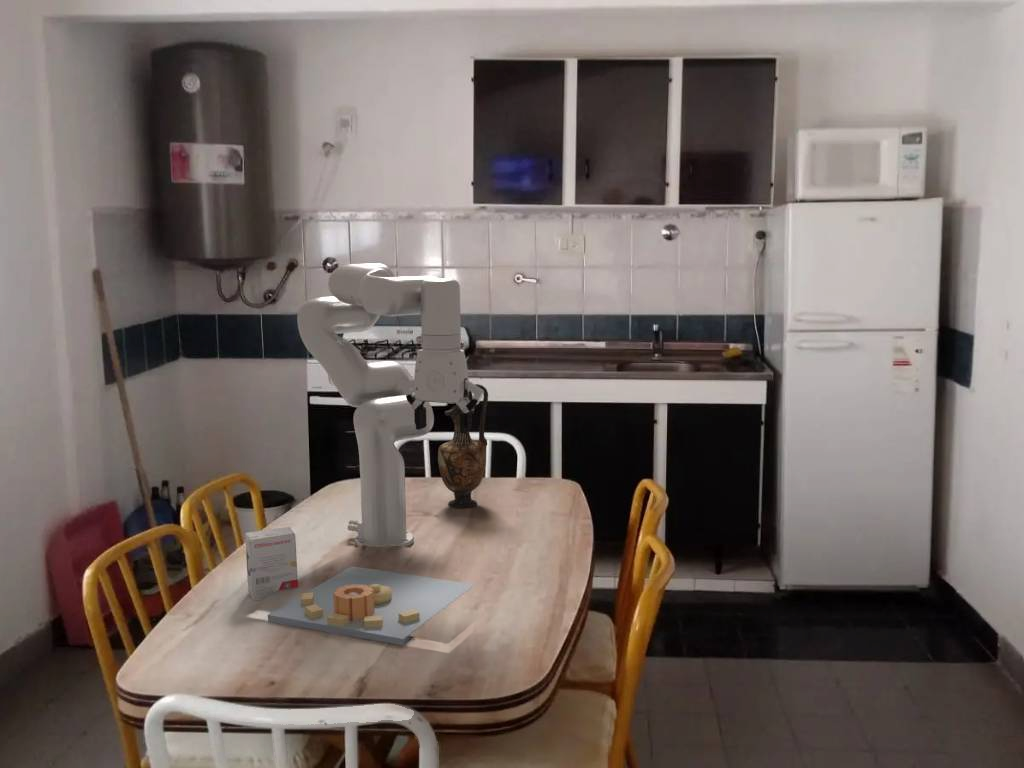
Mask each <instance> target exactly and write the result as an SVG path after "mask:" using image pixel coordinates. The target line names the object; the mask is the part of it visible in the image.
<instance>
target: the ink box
mask: <svg viewBox="0 0 1024 768" xmlns="http://www.w3.org/2000/svg"><path fill="white" fill-rule="evenodd" d="M244 535H245V555H246V557H245V558H246V576H247V592H248V595H249V596H250V597H251V599H252V600H253V601H259V600H264V599H265V598H268V597H269V596H271V595H273V594H275V593H277V592H278V591H284V590H289V589H295V588H299V580H298V579H299V578H298V577H299V576H298V560H297V559H298V558H297V542H296V539H297V538H296V534H295V532H294V531H293V530H292V529H291V527H290V526H286V527H280V528H273V529H264V530H263V529H262V530H258V531H257V530H256V531H250V532H245V534H244Z"/></svg>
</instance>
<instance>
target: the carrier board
mask: <svg viewBox="0 0 1024 768" xmlns="http://www.w3.org/2000/svg"><path fill="white" fill-rule="evenodd" d="M354 584H355V585H356V586H357V585H358V584H360V585H367V586H369V587H371V588H372V589H373V590H374V614H373V615H371V616H365V618H364V619H362V620H356V621H353V620H350V621H349V616H348V615H342V614H336V613H334V591H335V590H336V589H338V588H340V587H343V586H347V585H354ZM473 587H475V583H474V584H473V583H466V582H460V581H456V580H454V581H452V580H447V579H439V578H433V577H428V576H427V577H425V576H420V575H415V574H414V575H413V574H406V573H401V572H394V571H389V570H388V571H387V570H379V569H374V568H373V569H372V568H368V567H366V568H365V567H359V566H353V565H351V566H349V567H348V568H346V569H344V570H343V571H340V572H339V573H337V574H336V575H333V576H332V577H331V578H329V579H327V580H325V581H324V582H322V583H320V584H318V585H317V586H314V587H313V588H312V589H309V590H308V591H307V592H301V593H302V594H301V595H299V596H297V597H296V598H294V599H292V600H291V601H289V602H287V603H286V604H284V605H282V606H280V607H279V608H276V609H275V610H273V611H272V612H270V613H268V614H267V622H270V623H271V622H272V623H276V624H281V625H288V626H290V627H292V626H293V627H298V628H302V629H303V628H304V629H308V630H309V629H310V630H315V631H320V632H324V633H330V634H335V635H341V636H347V637H352V638H358V639H363V640H368V641H369V640H370V641H375V642H381V643H385V644H392V645H396V646H401V647H402V646H403V647H404V646H405V645H406V644H408V643H409V642H410V641H412V640H413V639H414V638H415V636H412V635H411V634H412V633H413V632H415V631H416V630H417V629H418V628H420V627H421V626H423V625H424V624H425V623H426V622H428V621H429V620H430V619H432V618H433V617H434V616H436V615H437V614H438V613H440V612H441V611H442V610H444V609H445V608H446V607H448V606H449V605H450V604H451V603H453V602H454V601H456V600H457V599H458V598H460V597H461V596H462V595H464V593H466V592H467V591H469V590H470V589H472V588H473ZM348 595H357V593H356V592H352V593H349V594H348Z"/></svg>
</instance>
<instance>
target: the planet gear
mask: <svg viewBox="0 0 1024 768" xmlns="http://www.w3.org/2000/svg"><path fill="white" fill-rule="evenodd" d="M352 592H356V593H357V595H348V594H349V593H352ZM334 613H336V614H342V615H348V616H349V621H350V620H353V621H356V620H362V619H364V618H365V616H371V615H373V614H374V590H373V589H372V588H371V587H369V586H367V585H360V584H358V585H357V586H356V585H355V584H354V585H347V586H343V587H340V588H338V589H336V590H335V591H334Z"/></svg>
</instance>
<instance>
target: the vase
mask: <svg viewBox="0 0 1024 768" xmlns="http://www.w3.org/2000/svg"><path fill="white" fill-rule="evenodd" d="M475 385H476V386H478V387H479V388H481V389H483V390H484V394H483V400H482V404H481V405H482V406H481V410H480V418H479V426H478V427H479V428H478V440H477V441H476V440H474V439H473V438H471V434H470V431H468V432H466V433H461V432H460V413H462V410H461V409H460V407H459V406H458V404H455V405H454V406H452V407H451V409H449V410H447V409H446V410H445V411H444V414H445V416H446V417H450V418H451V419H452V421H453V424H454V428H453V429H454V431H453V436H452V439H451V440H450V441H447V442H444V443H442V444H441V445H440V446H438V447H439V448H438V450H437V463H438V468H439V473H440V477H441V480H442V482H443V484H444V485H445V488H447V489H448V490H449V491H451V492H452V493H453V495H454V499H452V500H450V501H448V503H447V505H448V507H449V508H453V509H468V508H473V507H475V506H477V505H478V501H476V500H475V499H472V492H473V491H474V490H476V489H477V488H478V487H479V486H480V484H481V483H482V480H483V477H484V475H485V470H486V463H487V451H486V447H487V446H488V441H487V439H486V436H485V423H486V416H487V415H486V414H487V408H488V401H489V393H488V390H487V388H486V387H485V386H484V385H482V384H479V383H475ZM473 396H474V394H473V393H472V392H471V391H469V396H468V399H469V401H471V400H472V399H473ZM475 409H476V407H475V408H474V410H473V411H472V415H473V414H474V413H475Z"/></svg>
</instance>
